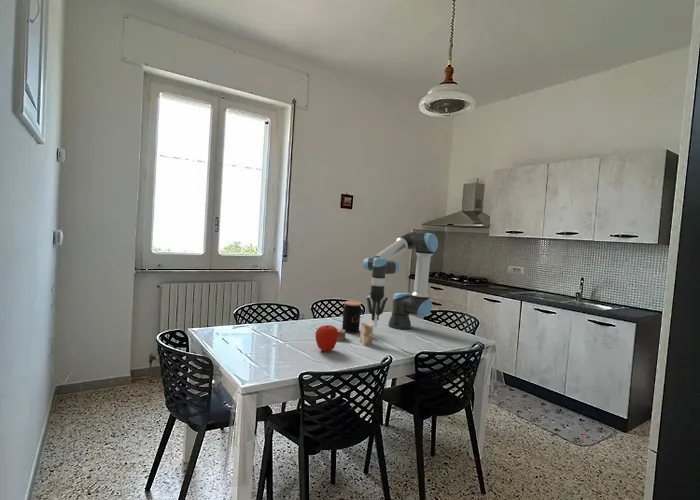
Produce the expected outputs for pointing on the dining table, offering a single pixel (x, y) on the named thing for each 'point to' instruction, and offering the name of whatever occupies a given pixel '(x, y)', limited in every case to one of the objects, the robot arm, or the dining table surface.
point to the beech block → (366, 334)
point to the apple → (326, 337)
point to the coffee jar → (351, 316)
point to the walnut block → (341, 334)
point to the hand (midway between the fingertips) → (374, 326)
